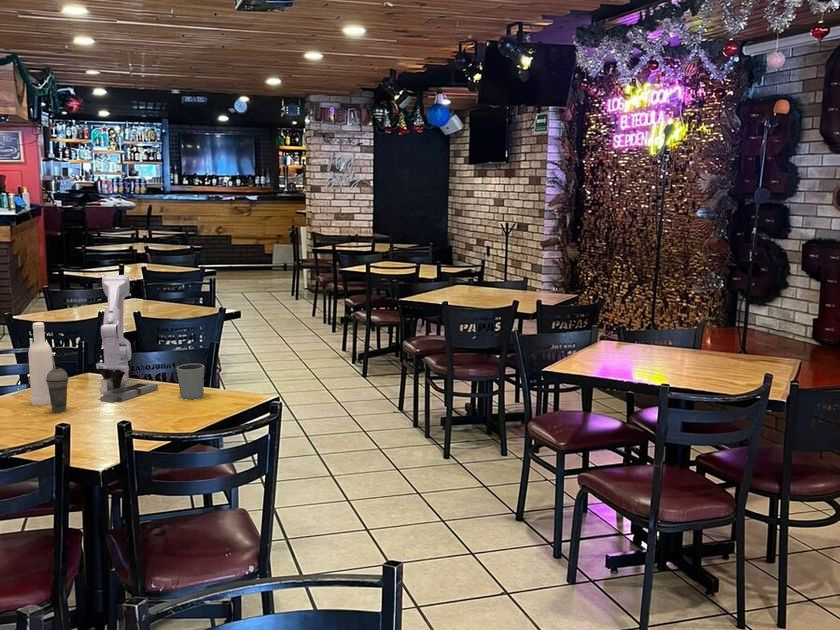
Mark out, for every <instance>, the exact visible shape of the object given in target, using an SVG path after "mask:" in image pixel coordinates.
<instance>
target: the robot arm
mask: <svg viewBox="0 0 840 630" xmlns="http://www.w3.org/2000/svg"><path fill="white" fill-rule="evenodd" d="M101 278H102V279H101V284H102V289H103V293H104V294H105V296H106V297H107V307H106V308H105V309H104V311H103V313H104V314H103V321H102V324H101V326H100V335H101V339H102V341H101V342H102V345H103V361H104V362H97V363H96V364H95V365H96V369H97V370H99V369H100V371H99V373H100V375H101V376H102V379H104V378H108V377H111V376H112V377H113V380H114V388H115V389H116V388H120V385H121V381H122V378H123V376H124V375H126V385H128V384H131V383H132V382H133V383H134V380H133V379H132V380H131V379H129V371H130V367H129V365H128V364H129V362H128V361H130V360H132V346H131V345H132V344H131V342H130V341H129V339H127V338H125V337H124V302H125V298H126V297H128V296H130V295H129V294H130V276H129V275H128V274H107V275H106V274H104V275H103V276H102V277H101Z"/></svg>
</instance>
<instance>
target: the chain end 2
mask: <svg viewBox="0 0 840 630" xmlns="http://www.w3.org/2000/svg"><path fill="white" fill-rule="evenodd" d="M158 385H159V384H158V383H153V382H152V383H151V382H140V381H136V382H133V383H132V382H131V383H128V384H126V386H123V393H124V392H127V391H130V390H137V395H142V396H144V395H143V394H145V395H147V394H146V393H148V394H150V393H149V392H151V393H153V392H152V391H154V392H156V391H155V390H156V389H158V388H159V386H158Z"/></svg>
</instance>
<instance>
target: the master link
mask: <svg viewBox="0 0 840 630" xmlns="http://www.w3.org/2000/svg"><path fill="white" fill-rule="evenodd" d="M99 382H100V383H99V384H100V394H101V395H103V392H106V391H110V390H113V389H115V388H114V380H113V377H112V376H111V377H108V378H104V379H103V378H102V379H99ZM126 385H127V384H126V375H124V376H123V378H122V381H121V385H120V388H123V386H126Z"/></svg>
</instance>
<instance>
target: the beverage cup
mask: <svg viewBox="0 0 840 630" xmlns="http://www.w3.org/2000/svg"><path fill="white" fill-rule="evenodd" d="M52 362H53V369H52V370H50V371H49V372H48V374H47V378H46V381H47V385H48V389H49V395H50V401H51V404H50V406H51V411H52V413H55V414H59V413H65V412H66V410H67V402H68V401H67V399H68V383H69V377H68V373H67V372H66V371H65V370H64V369H63V368H62V367H56V364H55V359H54V355H52Z"/></svg>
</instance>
